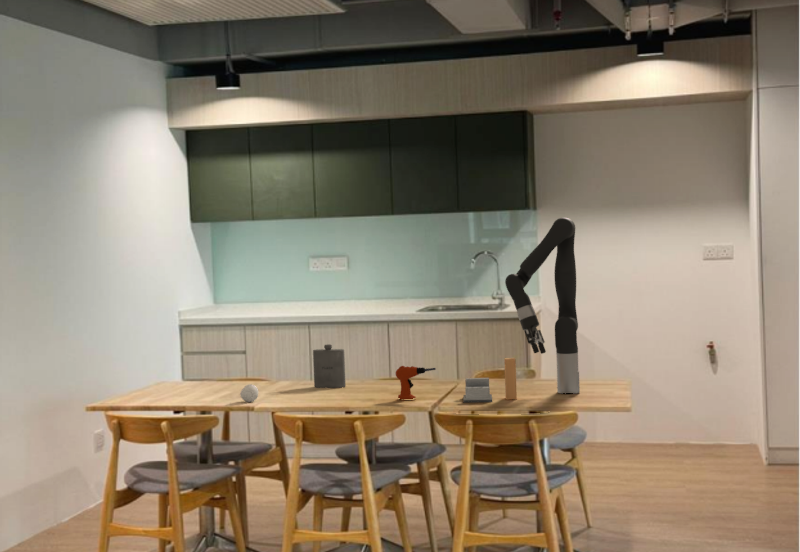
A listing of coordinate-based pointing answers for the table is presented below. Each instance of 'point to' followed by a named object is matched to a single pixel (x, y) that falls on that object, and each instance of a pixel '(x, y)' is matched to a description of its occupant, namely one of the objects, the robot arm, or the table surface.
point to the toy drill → (406, 383)
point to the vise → (477, 394)
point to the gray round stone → (249, 393)
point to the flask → (329, 367)
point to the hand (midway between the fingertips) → (540, 352)
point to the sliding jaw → (477, 382)
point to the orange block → (510, 378)
